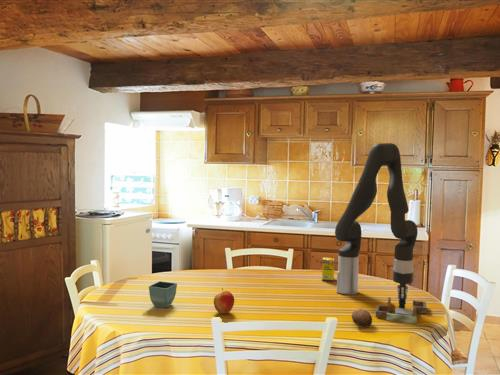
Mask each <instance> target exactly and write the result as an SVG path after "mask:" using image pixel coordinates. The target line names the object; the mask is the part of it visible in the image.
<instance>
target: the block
mask: <svg viewBox="0 0 500 375" xmlns="http://www.w3.org/2000/svg"><path fill="white" fill-rule="evenodd" d="M394 309H395V310H394V312H395V313H394V314H399V315H408V316H413V310H412V309H410V308H405V309H404V308H399V307H394Z"/></svg>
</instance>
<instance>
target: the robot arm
mask: <svg viewBox="0 0 500 375" xmlns="http://www.w3.org/2000/svg"><path fill="white" fill-rule="evenodd" d="M368 152H369V153H368V156H367V157H366V161H365V165H364V168H363V170H362V172H361V175H360V177H359V179H358V182H357V184H356V186H355V188H354V190H353V192H352V195H351V198H350V200H349V201H348V204H347V205H346V208H345V210H344V212H343V214H342V215H341V217H340V219H339V220H338V222H337V224H336V226H335V228H334V236H335V238H336V239H337V241H339V242H346V243H345V244H344V245H343V246H341V247H340V248H339V249H338V256H337V258H338V261H337V273H336V275H337V276H336V293H339V294H342V295H351V296H352V295H358V290H359V287H358V286H359V262H360V261H359V259H360V256H359V255H360V252H361V246H362V245H361V244H362V227H361V224H360V223H359V222H358V221H356V220H357V219H358V218H359V217H361V216H362V215H363V214H364V213H365V212H366V211H367V210H368V209H370V207H371V206H372V205H373V202H374V201H375V199H376V196H377V193H378V187H377V176H378V174H379V172H380V170H381V168H382V167H387V170H388V174H389V178H388V179H389V180H388V185H387V189H386V190H387V191H386V198H387V202H388V207H389V211H390V230H391V233H392V235H393V236H394V237H395V238H396V239H397V240H398V239H399V242H398V243H397V244H396V245H395V246H394V257H393V258H394V260H393V270H392V271H393V272H392V280H393V282H394V283H396V284H399V285H397V287H396V288H397V299H398V308H404V309H406V303H407V302H406V300H407V298H408V291H409V288H408V287H409V286H408V285H410V284H413V282H414V260H413V259H414V248H415V245H416V241H417V237H418V231H419V230H418V226H417V224H416V223H415V221H414V220H410V219H407V220H406V214H408V213H409V205H408V201H407V197H406V193H405V189H404V182H403V169H402V162H401V153H400V149H399V147H398V146H397V144H395V143H393V142H392V143H391V142H390V143H389V142H386V143H376V144H374V145H373V146H372V147H371V148H370V150H369V151H368Z"/></svg>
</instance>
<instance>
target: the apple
mask: <svg viewBox="0 0 500 375" xmlns="http://www.w3.org/2000/svg"><path fill="white" fill-rule="evenodd" d="M221 290H222V292H220V293H218V294H216V295H215V296H214V298H213V305H214V308H215V310H216V311H217V313H219V314H221V315H226V314H229V313H230V312H231V311H232V310H233V307H234V305H235V297H234V295H233V293H231V292H230V291H228V290H225V291H224V288H223V287H222V288H221Z"/></svg>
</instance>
